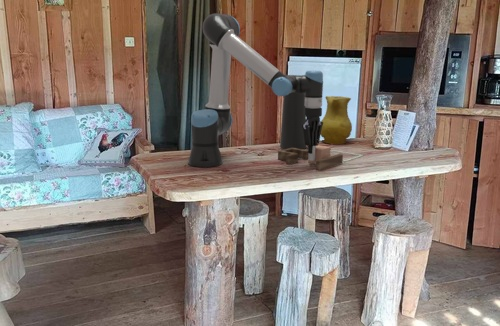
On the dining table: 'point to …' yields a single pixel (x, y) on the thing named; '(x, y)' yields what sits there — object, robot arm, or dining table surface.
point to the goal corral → (348, 153)
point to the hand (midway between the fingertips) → (311, 160)
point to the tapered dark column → (293, 121)
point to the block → (321, 153)
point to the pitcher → (336, 120)
